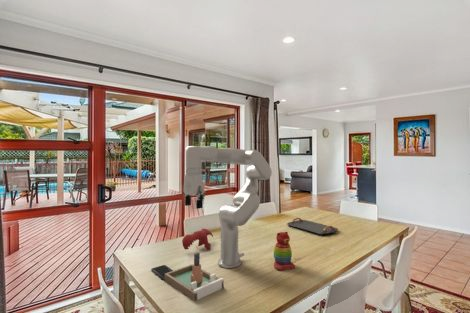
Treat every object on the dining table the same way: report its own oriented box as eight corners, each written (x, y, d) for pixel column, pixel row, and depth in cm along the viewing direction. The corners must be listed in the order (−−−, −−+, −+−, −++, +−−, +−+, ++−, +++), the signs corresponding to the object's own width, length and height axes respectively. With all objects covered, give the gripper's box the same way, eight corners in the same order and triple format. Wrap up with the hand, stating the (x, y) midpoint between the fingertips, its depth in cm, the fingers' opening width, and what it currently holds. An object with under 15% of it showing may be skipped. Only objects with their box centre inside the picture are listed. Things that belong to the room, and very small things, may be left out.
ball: (210, 291, 112) (205, 285, 115) (212, 284, 111) (207, 278, 114) (203, 295, 109) (197, 288, 112) (205, 287, 108) (199, 281, 111)
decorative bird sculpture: (216, 248, 174) (204, 230, 180) (224, 241, 171) (212, 222, 176) (188, 263, 150) (175, 241, 155) (197, 255, 147) (183, 232, 152)
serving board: (283, 226, 216) (283, 218, 216) (302, 222, 229) (302, 215, 229) (323, 238, 184) (323, 229, 184) (342, 232, 198) (342, 224, 198)
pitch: (192, 270, 132) (192, 260, 132) (223, 287, 114) (223, 276, 114) (164, 280, 121) (164, 269, 121) (194, 301, 104) (194, 288, 104)
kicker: (199, 280, 118) (199, 251, 118) (202, 281, 117) (202, 252, 117) (190, 283, 115) (190, 254, 115) (193, 285, 113) (193, 255, 113)
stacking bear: (277, 271, 131) (277, 236, 130) (269, 263, 140) (269, 230, 140) (297, 268, 134) (297, 234, 133) (287, 261, 143) (287, 229, 143)
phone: (163, 279, 120) (150, 268, 132) (163, 281, 120) (150, 270, 132) (178, 274, 125) (165, 264, 137) (178, 276, 125) (165, 266, 137)
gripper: (177, 171, 130) (177, 205, 130) (197, 172, 117) (197, 210, 117) (189, 170, 135) (189, 203, 135) (210, 172, 123) (210, 208, 123)
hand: (193, 206), depth 126 cm, fingers open, 9 cm apart
